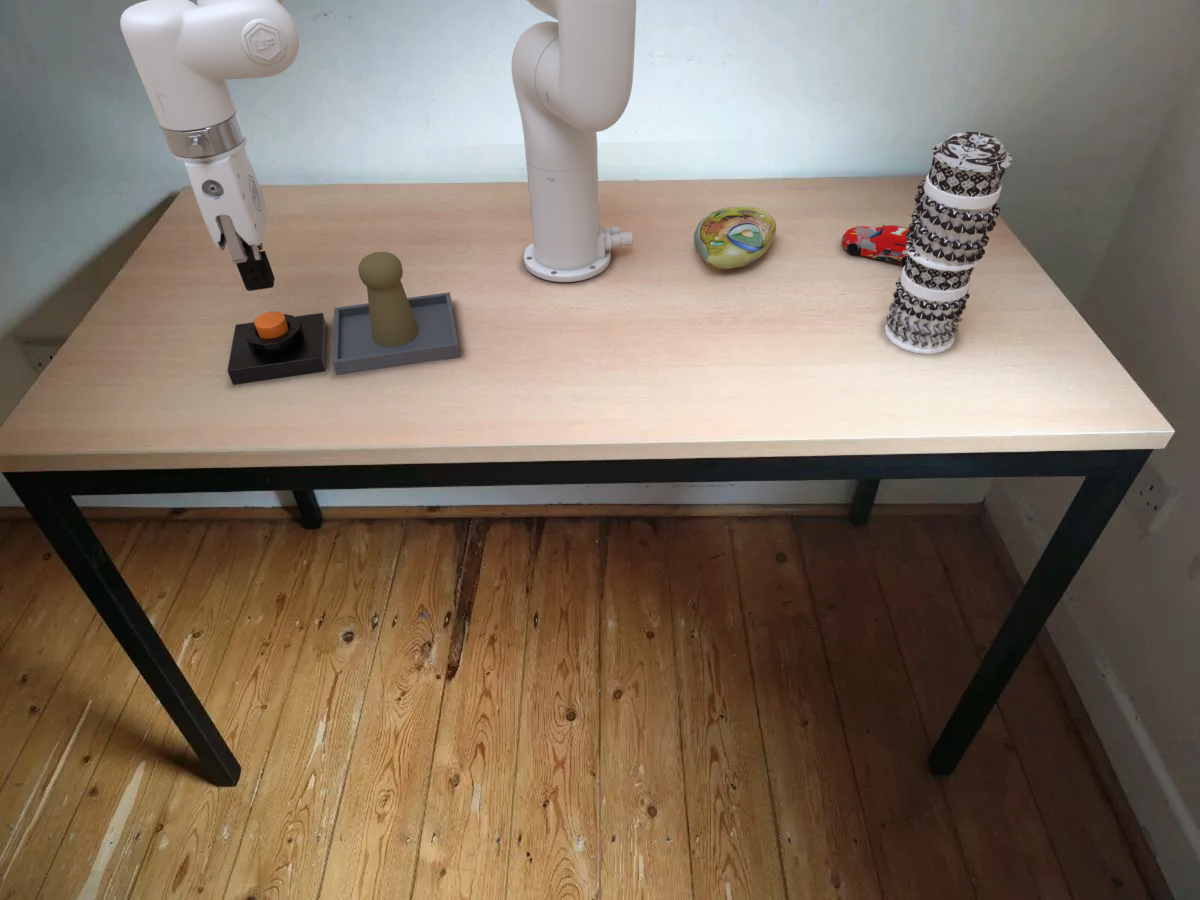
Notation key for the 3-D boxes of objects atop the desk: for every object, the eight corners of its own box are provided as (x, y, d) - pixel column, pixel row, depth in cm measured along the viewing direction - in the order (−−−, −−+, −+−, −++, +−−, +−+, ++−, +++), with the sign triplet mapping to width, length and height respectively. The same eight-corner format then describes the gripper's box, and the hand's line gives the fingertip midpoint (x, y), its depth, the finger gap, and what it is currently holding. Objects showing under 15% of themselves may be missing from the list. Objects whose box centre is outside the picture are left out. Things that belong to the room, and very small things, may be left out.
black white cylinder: (866, 324, 108) (911, 133, 90) (924, 307, 110) (979, 117, 93) (912, 363, 101) (970, 166, 84) (972, 344, 104) (1041, 149, 87)
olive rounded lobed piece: (408, 349, 105) (391, 273, 97) (363, 344, 106) (343, 268, 98) (425, 322, 109) (410, 247, 101) (382, 317, 110) (364, 242, 102)
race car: (835, 252, 121) (840, 227, 118) (847, 236, 124) (852, 211, 121) (927, 275, 116) (934, 249, 113) (937, 257, 119) (944, 231, 116)
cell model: (794, 223, 122) (759, 230, 110) (770, 271, 126) (734, 283, 114) (732, 190, 125) (692, 193, 113) (710, 238, 129) (669, 246, 117)
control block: (327, 326, 110) (319, 300, 107) (325, 371, 103) (317, 345, 100) (240, 338, 109) (230, 312, 106) (233, 385, 101) (222, 358, 99)
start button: (289, 321, 105) (285, 309, 104) (287, 337, 102) (283, 325, 101) (259, 325, 104) (255, 313, 103) (257, 341, 102) (253, 329, 101)
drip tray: (451, 304, 113) (449, 291, 112) (460, 357, 104) (458, 344, 103) (337, 320, 111) (334, 307, 110) (336, 375, 102) (332, 362, 101)
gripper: (235, 160, 82) (290, 315, 94) (248, 102, 92) (296, 249, 105) (154, 170, 81) (221, 326, 93) (177, 111, 91) (234, 258, 104)
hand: (261, 285), depth 99 cm, fingers closed
